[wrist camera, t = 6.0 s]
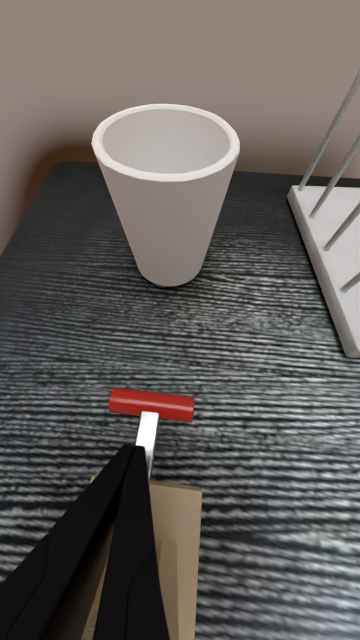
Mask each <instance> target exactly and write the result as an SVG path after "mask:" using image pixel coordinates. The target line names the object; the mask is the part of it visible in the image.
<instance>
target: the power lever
mask: <svg viewBox="0 0 360 640" xmlns="http://www.w3.org/2000/svg"><path fill="white" fill-rule="evenodd" d="M109 412H112V413H120V414H128V415H136V416H140V421H139V426H138V431H137V436H136V441H135V445H141V446H145V451H146V461H147V470H148V480H149V489H150V483H151V476H152V469H153V462H154V456H155V449H156V442H157V435H158V429H159V422H160V419H167V420H175V421H183V422H190V423H191V422H192V420H193V414H194V397H188V396H180V395H172V394H164V393H156V392H148V391H140V390H132V389H124V388H114V389H113V391H112V393H111V396H110V400H109ZM97 613H98V612H95V613H94V615H93V617H92V619H91V621H90V623H89V626H88V628H87V630H86V632H85V634H84V636H83V638H82V640H92V639H93V634H94V629H95V624H96V619H97Z"/></svg>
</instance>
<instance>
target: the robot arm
mask: <svg viewBox="0 0 360 640" xmlns="http://www.w3.org/2000/svg"><path fill="white" fill-rule="evenodd" d="M155 548H156V545H155V536H154V527H153V517H152V508H151V498H150V489H149V480H148V470H147V461H146V451H145V446H141V445H135V446H134V445H133V444H124V445H123V446H122V447H121V449H120V450H119V451H118V452H117V453H116V454H115V456H114V457H113V458H112V459H111V460H110V461H109V462H108V464H107V465H106V466H105V467H104V468H103V469H102V471H101V472H100V473H99V474H98V475H97V476H96V478H95V479H94V480H93V481H92V482H91V483H90V484H89V486H88V487H87V488H86V489H85V490H84V491H83V493H82V494H81V495H80V496H79V497H78V498H77V499H76V501H75V502H74V503H73V504H72V505H71V506H70V508H69V509H68V510H67V511H66V512H65V513H64V515H63V516H62V517H61V518H60V519H59V520H58V521H57V523H56V524H55V525H54V526H53V527H52V528H51V530H50V531H49V534H46V535H45V536H44V538H43V539H42V540H41V541H40V542H39V543H38V545H37V546H36V547H35V548H34V549H33V550H32V551H31V552H30V554H29V555H28V556H27V557H26V558H25V559H24V560H23V561H22V562H21V564H20V565H19V566H18V567H17V568H16V569H15V570H14V571H13V572H12V573H11V574H10V575H9V576H8V577H7V578H6V579H5V581H4V582H3V583H2V584H1V585H0V640H81V638H82V635H83V632H84V629H85V626H86V623H87V620H88V617H89V613H90V610H91V607H92V604H93V601H94V598H95V595H96V592H97V589H98V586H99V583H100V580H101V577H102V574H103V571H104V568H105V565H106V562H107V559H108V562H107V567H106V572H105V577H104V582H103V588H102V593H101V598H100V603H99V608H98V613H97V619H96V624H95V629H94V634H93V639H92V640H170V635H169V631H168V626H167V621H166V615H165V610H164V604H163V599H162V593H161V586H160V579H159V571H158V563H157V554H156V550H155ZM108 555H109V557H108Z"/></svg>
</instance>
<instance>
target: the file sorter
mask: <svg viewBox="0 0 360 640" xmlns="http://www.w3.org/2000/svg"><path fill="white" fill-rule="evenodd" d="M359 84H360V71H359V72H358V74H357V76H356V78H355V80H354V82H353V84H352V86H351V87H350V89H349V91H348V93H347V95H346V97H345V99H344V101H343V103H342V105H341V106H340V108H339V110H338V112H337V114H336V116H335V118H334V120H333V122H332V124H331V125H330V128H329V129H328V131H327V133H326V135H325V137H324V139H323V141H322V143H321V145H320V147H319V149H318V150H317V152H316V154H315V156H314V158H313V160H312V162H311V164H310V166H309V168H308V170H307V172H306V174H305V176H304V178H303V180H302V181H301V183H300V185H299V186H292V188H291V189H290V191H289V193H288V195H287V199H288V201H289V204H290V206H291V209H292V212H293V214H294V217H295V220H296V222H297V225H298V228H299V230H300V233H301V236H302V238H303V241H304V244H305V247H306V249H307V252H308V255H309V257H310V260H311V263H312V265H313V268H314V271H315V273H316V276H317V279H318V281H319V284H320V287H321V289H322V292H323V295H324V297H325V300H326V303H327V306H328V308H329V311H330V314H331V316H332V319H333V322H334V325H335V327H336V330H337V332H338V335H339V338H340V341H341V343H342V346H343V349H344V352H345V354H346V356H347V357H350V358H360V188H345V187H334V186H335V184H336V183H337V181H338V179H339V178H340V176H341V175H342V173H343V172H344V170H345V169H346V167H347V166H348V164H349V162H350V161H351V159H352V158H353V156H354V155H355V153H356V151H357V150H358V149H359V147H360V134H359V136H358V138H357V139H356V141H355V143H354V144H353V146H352V147H351V149H350V150H349V152H348V154H347V155H346V157H345V159H344V160H343V162H342V163H341V165H340V167H339V168H338V170H337V171H336V173H335V175H334V176H333V178H332V179H331V181H330V183H329V184H328V186H327V187H319V186H305V184H306V182H307V180H308V179H309V177H310V175H311V173H312V171H313V169H314V167H315V165H316V164H317V162H318V160H319V158H320V156H321V154H322V153H323V151H324V149H325V147H326V145H327V143H328V141H329V139H330V138H331V136H332V134H333V132H334V130H335V128H336V127H337V125H338V123H339V121H340V119H341V117H342V115H343V113H344V112H345V110H346V108H347V106H348V104H349V103H350V101H351V99H352V97H353V95H354V94H355V92H356V90H357V88H358V86H359Z"/></svg>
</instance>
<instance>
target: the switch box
mask: <svg viewBox="0 0 360 640" xmlns="http://www.w3.org/2000/svg"><path fill="white" fill-rule="evenodd" d="M98 474H99V473H97V474H95V475H94V476H92V478H91V482H92V481H93V480H94V479H95V478H96V476H97V475H98ZM91 482H90V483H91ZM150 498H151V508H152V517H153V527H154V536H155V545H156V548H155V550H156V554H157V563H158V571H159V579H160V586H161V593H162V599H163V604H164V610H165V615H166V621H167V626H168V631H169V635H170V640H194V639H195V620H196V602H197V583H198V564H199V545H200V526H201V508H202V490H201V488H200V487H197V486H189V485H182V484H175V483H167V482H160V481H153V480H151V483H150ZM108 557H109V555H108ZM107 562H108V559H107ZM107 562H106V565H105V568H104V571H103V574H102V577H101V580H100V583H99V586H98V589H97V592H96V595H95V598H94V601H93V604H92V607H91V610H90V613H89V617H88V620H87V623H86V626H85V629H84V632H83V635H82V638H83V636H84V634H85V632H86V630H87V628H88V626H89V623H90V621H91V619H92V617H93V615H94V613H95V612H98V608H99V603H100V598H101V593H102V588H103V582H104V577H105V572H106V567H107ZM82 638H81V640H82Z"/></svg>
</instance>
